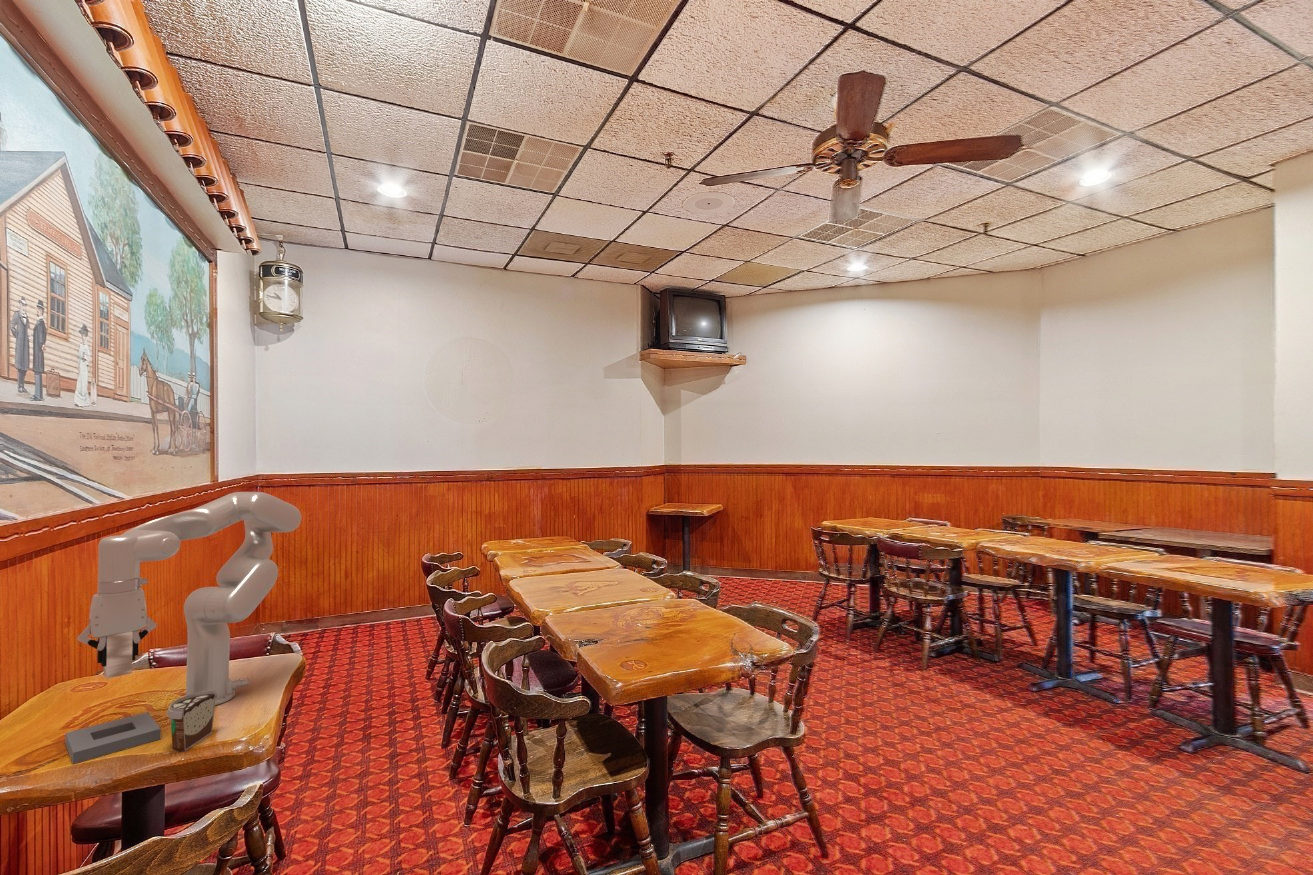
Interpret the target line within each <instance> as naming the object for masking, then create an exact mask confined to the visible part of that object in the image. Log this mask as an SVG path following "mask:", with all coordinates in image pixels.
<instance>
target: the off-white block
mask: <svg viewBox="0 0 1313 875" xmlns="http://www.w3.org/2000/svg"><path fill="white" fill-rule="evenodd" d="M132 641H133V632H132V631H131V632H126V633H120V634H115V635H109V636H107V640H106V643H105V649H106V650H107V658H106V666H105V667H103V675H104V677H105V678H106V679H112V678H116V677H121V676H125V675H128V674H129V675H130V674H132V673H133V661H132Z"/></svg>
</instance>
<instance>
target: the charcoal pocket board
mask: <svg viewBox="0 0 1313 875" xmlns="http://www.w3.org/2000/svg"><path fill="white" fill-rule="evenodd" d="M161 732H162V728H161V727H160V725H159V724H158V723H157V722H156V721H155V719H154V718H153V717H152V715H151V714H150V713H149V711H147V712H142V713H139V714H134V715H130V716H127V717H124V718H119V719H115V720H112V721H108V722H103V723H100V724H95V725H92V726H87V727H84V728H80V729H75V730H72V731H68V732H65V737H64V739H65V741H64V743H65V747H66V749H67V750H66V751H68V752H67V753H68V754H69V757H70V760H71V763H72V765H75V764H79V763H82V762H86V761H89V760H93V759H96V758H100V757H103V755H104V756H107V755H110V753H111V754H113V753H112V752H114V753H116V751H118V750H121V751H123V749H125V750H127V749H126V748H128V749H131V747H132V748H135V747H139V746H142V745H146V744H148V743H152V742H155V741H159V740H161V736H162V733H161ZM134 746H135V747H134ZM118 752H119V751H118ZM106 754H107V755H106ZM99 756H100V757H99ZM92 758H93V759H92ZM85 760H86V761H85ZM78 762H79V763H78Z"/></svg>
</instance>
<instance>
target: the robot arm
mask: <svg viewBox="0 0 1313 875" xmlns="http://www.w3.org/2000/svg"><path fill="white" fill-rule="evenodd" d="M241 521H243V524H244V525H243V526H244V533H245V534H244V535H245V537H244V540H243V543H242V544H241V545H240V547H239V548H238V549H237V550H236V551H235V552H234V554H232V556H230V557H229V559H228V560H227V561H226V562H225V563H224V564H223V565H222V566H221V567H220V569H219V570H218V573H217V575H216V579H215V580H216V584H217V585H218V586H205V587H200V588H197V589H195V590H194V591H192V592H191V593H190V594H189V595H188V596H187V597H186V599H185V601H184V604H183V614H184V618H185V619H184V620H185V623H186V624H185V625H186V628H187V629H186V630H187V645H186V646H187V647H186V678H185V679H186V681H185V684H186V685H185V696H187V695H190V694H194V693H198V692H203V691H211V690H216V692H217V698H215V706H216V705H221V704H223V703H227V702H228V701H230V700H232V699H233V698H234V697H235V695H236V689H237V688H239V687H240V688H242V687H246V686H248V685H249V684H250V682H249V678H243V679H241V678H237V679H232V680H231V679H230V648H231V647H230V646H231V634H230V628H229V625H228V624H236V623H239V622H243V621H244V620H246V619H247V618H249V616H251V614H253V612H254V611H255V610H256V609H257V607H258V606H259V605H260V604H261V603H262V602H263V600H264V599H265V597H266V596H268V594H269V592H271V590H272V589H273V587H274V585H275V584H276V582H277V580H278V575H279V569H278V565H277V564H276V563H275V561H274V560H272V559H270V558H271V556H272V554H273V552H274V543H273V538H272V533H290V532H293V531H296V529H298V528H299V526H300V525H301V523H302V514H301V511H300V510H299V509H298V507H297V506H295V505H293V504H291V503H289V502H287V501H285V500H282V499H281V498H279V497H276V496H274V495H271V494H269V493H266V492H263V491H234V492H231V493H228V494H226V495H224V496H221V497H219V498H217V499H214V500H212V501H209V502H208V503H205V504H202V505H200V506H198V507H195V508H193V509H188V510H183V511H180V512H178V513H174V514H170V515H166V516H163V517H159V518H156V519H152V520H150V521H147V522H145V523H142V524H139V525H137V526H135V527H132V528H130V529H128V530H126V531H124V532H123V533H121V534H119V535H110V536H105V537H103V538H101V539H100V540H99V542H98V552H97V553H98V554H97V556H98V557H97V562H98V563H97V564H98V565H97V574H98V575H97V593H96V594H93V595H92V599H91V602H90V609H89V616H88V625H87V626H86V627H85V628H84V629H83V631H82V632H81V633H80V634H79V635H78V636H77V637H76V640H77V641H78V642H80V643H82V644H84V645H89V646H90V647H92V648H94V649H96V650H97V651H96V652H97V653H96V655H97V656H96V658H97V659H96V660H97V664H100V666H101V667H102V668H104V667H105V666H106V658H107V650H106V649H105V643H106V640H107V636H109V635H115V634H120V633H126V632H131V631H132V632H133V641H132V662H133V661H136V656H139V645H140V642H141V640H143V639H144V638H145V637H146V636H147V635H148V634H149V633H150V632H152V631H153V630H154V629H156V628H157V627H158V623H156V622H155V621H153V619H151V617H149V616H148V614H147V603H146V597H145V592H144V589H143V588H141V587H142V585H145V584H146V585H147V584H148V581H149V580H148V578H143V577H140V576H141V563H142V562H157V561H159V562H160V561H164V560H168V559H170V558H172V557H174V556H175V555H176V554H177V553H178V552H179V550H180V549H181V541H186V540H195V539H200V538H205V537H209V536H212V535H215V534H216V533H218V532H220V531H222V530H224V529H226V528H228V527H230V526H232V525H235V524H237V523H238V522H241ZM89 635H91V637H92V638H91V637H88V636H89ZM93 638H94V639H93ZM95 638H96V639H97V640H96V639H95Z"/></svg>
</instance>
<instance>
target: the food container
mask: <svg viewBox="0 0 1313 875" xmlns="http://www.w3.org/2000/svg"><path fill="white" fill-rule="evenodd" d="M215 698H217V692H216V690H211V691H203V692H198V693H194V694H190V695H187V696H186V695H184V696H181V697H179V698H177V699H175V700H174V701H172V702H171V703H170V705H169V707H168V708H167V712H166V717H167V718H169V719H170V730H171V744H172V749H173V751H176V752H186V751H187V750H189V749H190V748H192V747H193V746H195V745H196V744H198V743H199V742H201V741H202V740H203V739H205V738H207V737H208V736H209V735H212V734H213V729H214V728H213V727H214V717H215V708H216V707H215V706H216V705H215ZM206 736H207V737H206Z"/></svg>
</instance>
